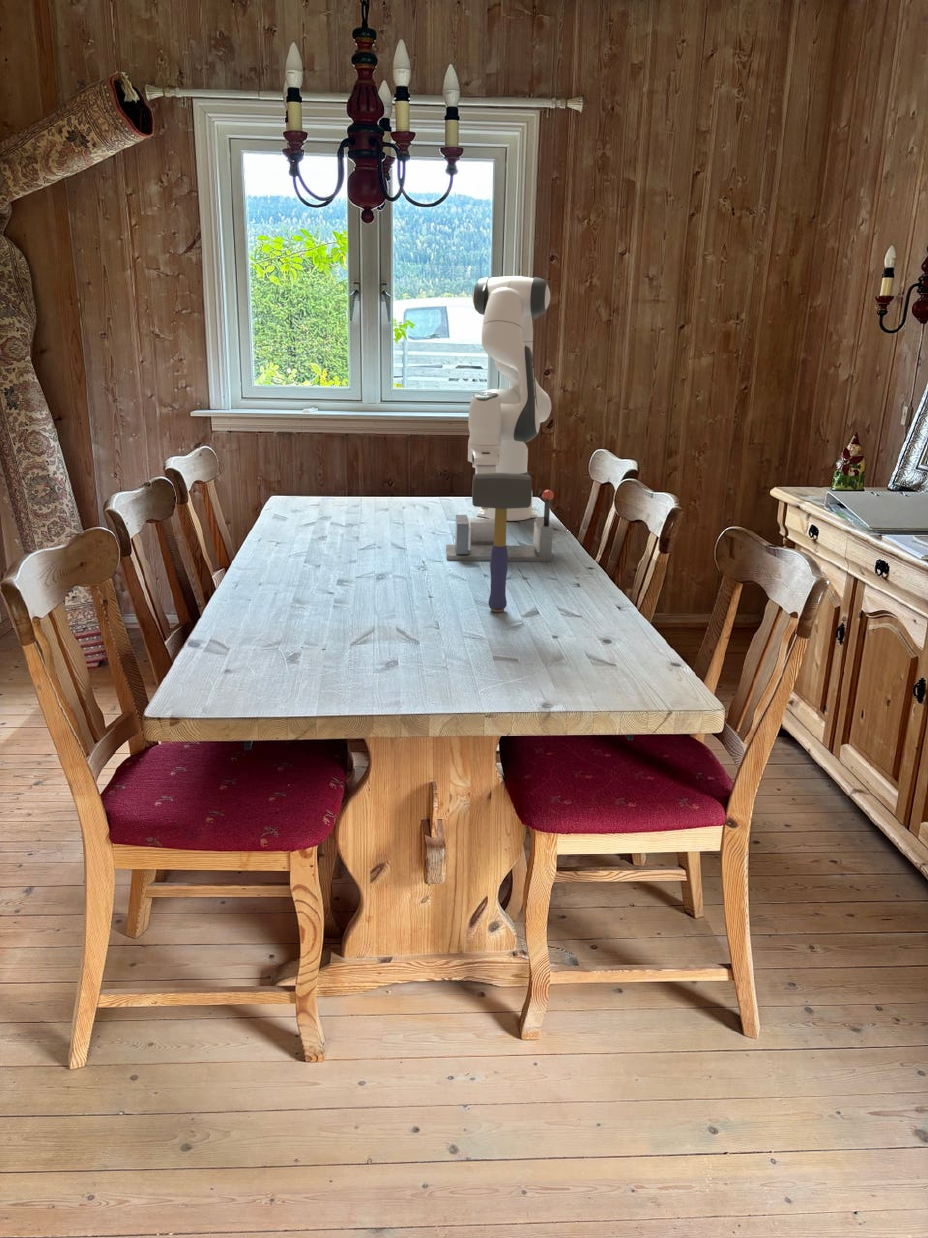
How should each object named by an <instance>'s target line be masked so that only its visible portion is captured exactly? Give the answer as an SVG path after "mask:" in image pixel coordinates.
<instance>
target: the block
mask: <svg viewBox="0 0 928 1238" xmlns="http://www.w3.org/2000/svg"><path fill="white" fill-rule="evenodd" d="M468 519H469V520H470V525H471V543H470V545H494V528H495V519H490V518H470V517H469V518H468Z"/></svg>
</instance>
